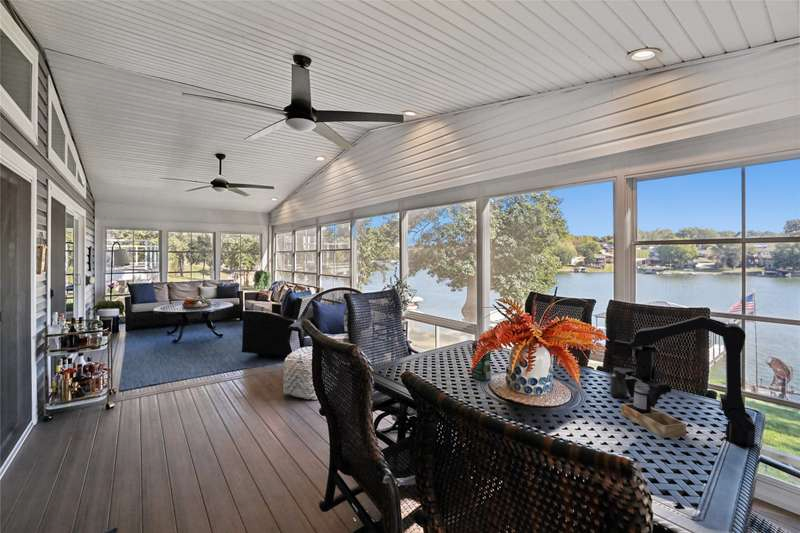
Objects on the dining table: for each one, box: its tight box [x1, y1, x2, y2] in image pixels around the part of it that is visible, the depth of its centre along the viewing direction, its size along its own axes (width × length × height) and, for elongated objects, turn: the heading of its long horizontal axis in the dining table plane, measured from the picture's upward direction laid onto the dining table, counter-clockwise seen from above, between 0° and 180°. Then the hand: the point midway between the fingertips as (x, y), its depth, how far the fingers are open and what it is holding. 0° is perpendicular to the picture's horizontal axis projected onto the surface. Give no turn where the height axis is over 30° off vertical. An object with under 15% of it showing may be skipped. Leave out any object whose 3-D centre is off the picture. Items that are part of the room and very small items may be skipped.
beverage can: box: [633, 385, 651, 414], centre depth 140 cm, size 6×6×12 cm
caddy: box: [620, 402, 687, 439], centre depth 136 cm, size 18×10×4 cm, turn 12°
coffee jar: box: [470, 339, 492, 381], centre depth 183 cm, size 10×8×19 cm
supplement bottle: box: [609, 367, 629, 400], centre depth 162 cm, size 7×7×12 cm
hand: (642, 402), depth 140 cm, fingers open, 9 cm apart
